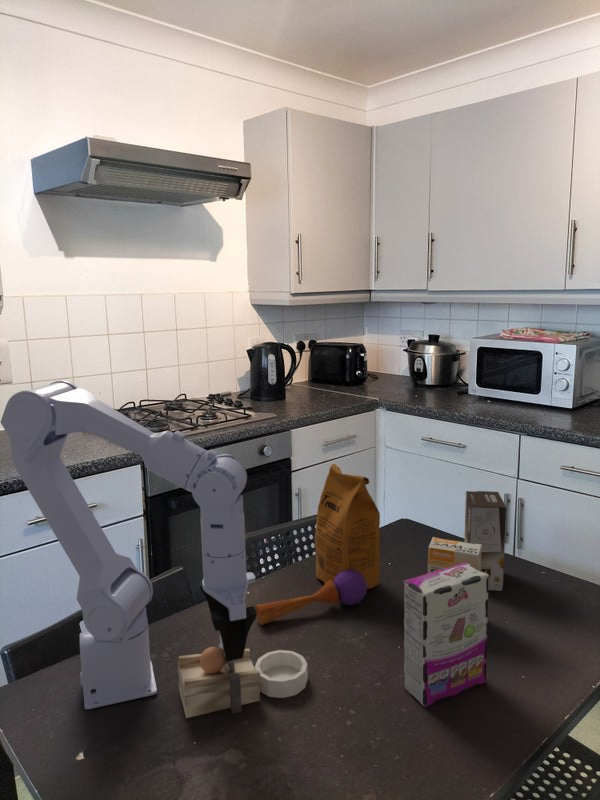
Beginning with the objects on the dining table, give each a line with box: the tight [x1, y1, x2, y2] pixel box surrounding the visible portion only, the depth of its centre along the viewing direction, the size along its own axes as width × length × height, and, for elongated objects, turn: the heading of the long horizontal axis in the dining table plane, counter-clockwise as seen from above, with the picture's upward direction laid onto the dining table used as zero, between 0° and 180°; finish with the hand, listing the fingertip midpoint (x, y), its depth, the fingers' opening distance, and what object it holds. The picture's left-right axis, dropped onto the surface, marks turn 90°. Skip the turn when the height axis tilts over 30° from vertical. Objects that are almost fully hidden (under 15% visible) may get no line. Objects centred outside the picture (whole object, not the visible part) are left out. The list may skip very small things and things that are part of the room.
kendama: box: [255, 570, 368, 626], centre depth 106 cm, size 6×6×20 cm
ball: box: [200, 646, 225, 674], centre depth 84 cm, size 3×3×3 cm
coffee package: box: [314, 463, 381, 590], centre depth 115 cm, size 10×12×22 cm
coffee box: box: [463, 490, 507, 592], centre depth 116 cm, size 9×6×16 cm
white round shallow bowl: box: [254, 649, 308, 699], centre depth 88 cm, size 7×7×2 cm
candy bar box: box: [403, 563, 489, 708], centre depth 85 cm, size 11×5×16 cm, turn 117°
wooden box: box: [177, 643, 261, 719], centre depth 84 cm, size 10×9×5 cm
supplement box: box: [426, 536, 482, 574], centre depth 102 cm, size 8×5×13 cm, turn 68°
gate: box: [219, 634, 235, 674], centre depth 84 cm, size 2×4×5 cm, turn 19°
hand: (228, 642), depth 84 cm, fingers open, 7 cm apart
